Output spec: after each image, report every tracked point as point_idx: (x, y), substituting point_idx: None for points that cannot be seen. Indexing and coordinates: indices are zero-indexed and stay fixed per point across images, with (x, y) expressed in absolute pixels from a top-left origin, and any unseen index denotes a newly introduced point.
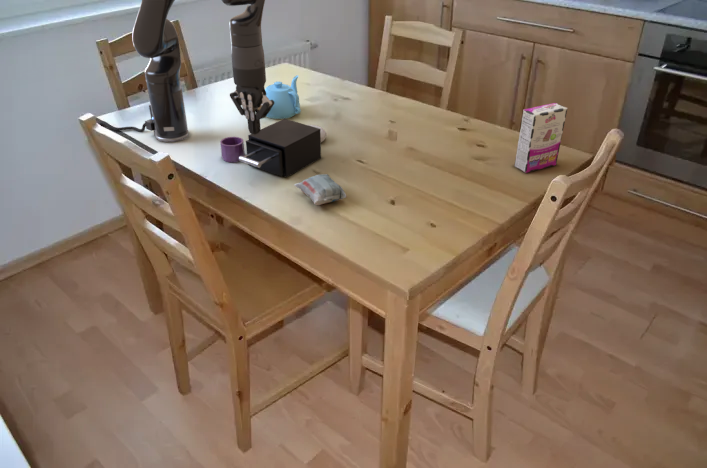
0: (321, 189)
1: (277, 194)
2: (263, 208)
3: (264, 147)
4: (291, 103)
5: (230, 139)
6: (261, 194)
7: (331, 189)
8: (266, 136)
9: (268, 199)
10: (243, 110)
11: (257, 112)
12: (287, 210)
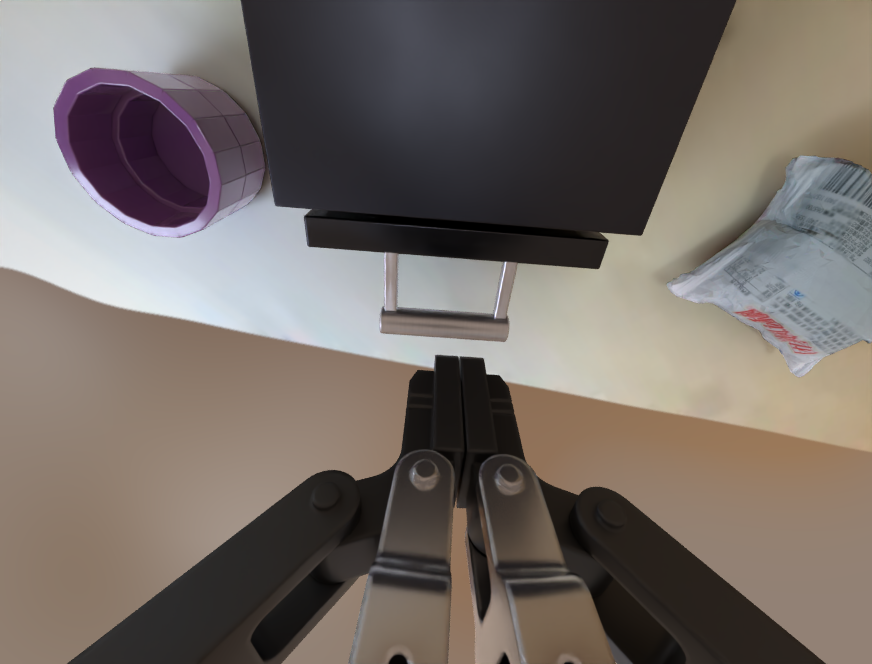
0: (848, 343)
1: (593, 317)
2: (587, 396)
3: (477, 259)
4: None
5: (81, 113)
6: (539, 342)
7: None
8: (410, 147)
9: (578, 354)
10: (344, 585)
11: (510, 537)
12: (666, 375)
